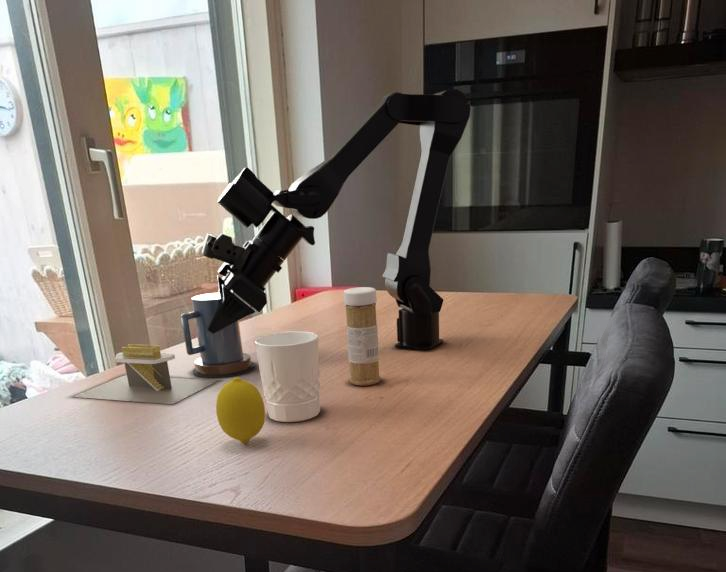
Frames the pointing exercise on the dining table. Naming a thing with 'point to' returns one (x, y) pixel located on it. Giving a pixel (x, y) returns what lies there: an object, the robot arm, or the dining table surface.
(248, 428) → the lemon
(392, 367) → the dining table surface
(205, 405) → the dining table surface
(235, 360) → the mug
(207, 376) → the base
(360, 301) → the spice jar
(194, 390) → the platform
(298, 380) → the white cup
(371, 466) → the dining table surface
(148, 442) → the dining table surface
